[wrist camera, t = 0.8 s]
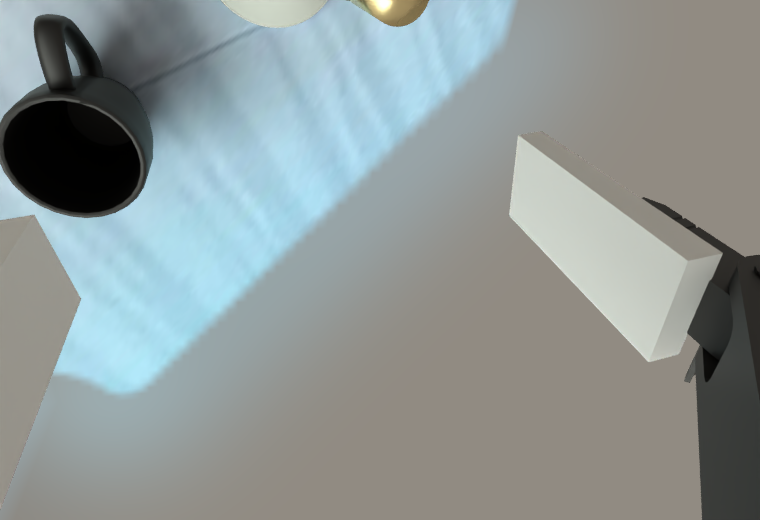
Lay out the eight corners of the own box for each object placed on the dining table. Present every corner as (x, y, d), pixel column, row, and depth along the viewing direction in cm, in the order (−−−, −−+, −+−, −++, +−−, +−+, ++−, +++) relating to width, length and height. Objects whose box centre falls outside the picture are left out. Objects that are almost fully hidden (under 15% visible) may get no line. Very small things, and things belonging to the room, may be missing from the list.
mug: (152, 7, 35) (131, 30, 27) (167, 164, 41) (153, 219, 33) (17, -9, 32) (-47, 11, 25) (56, 160, 39) (14, 218, 31)
